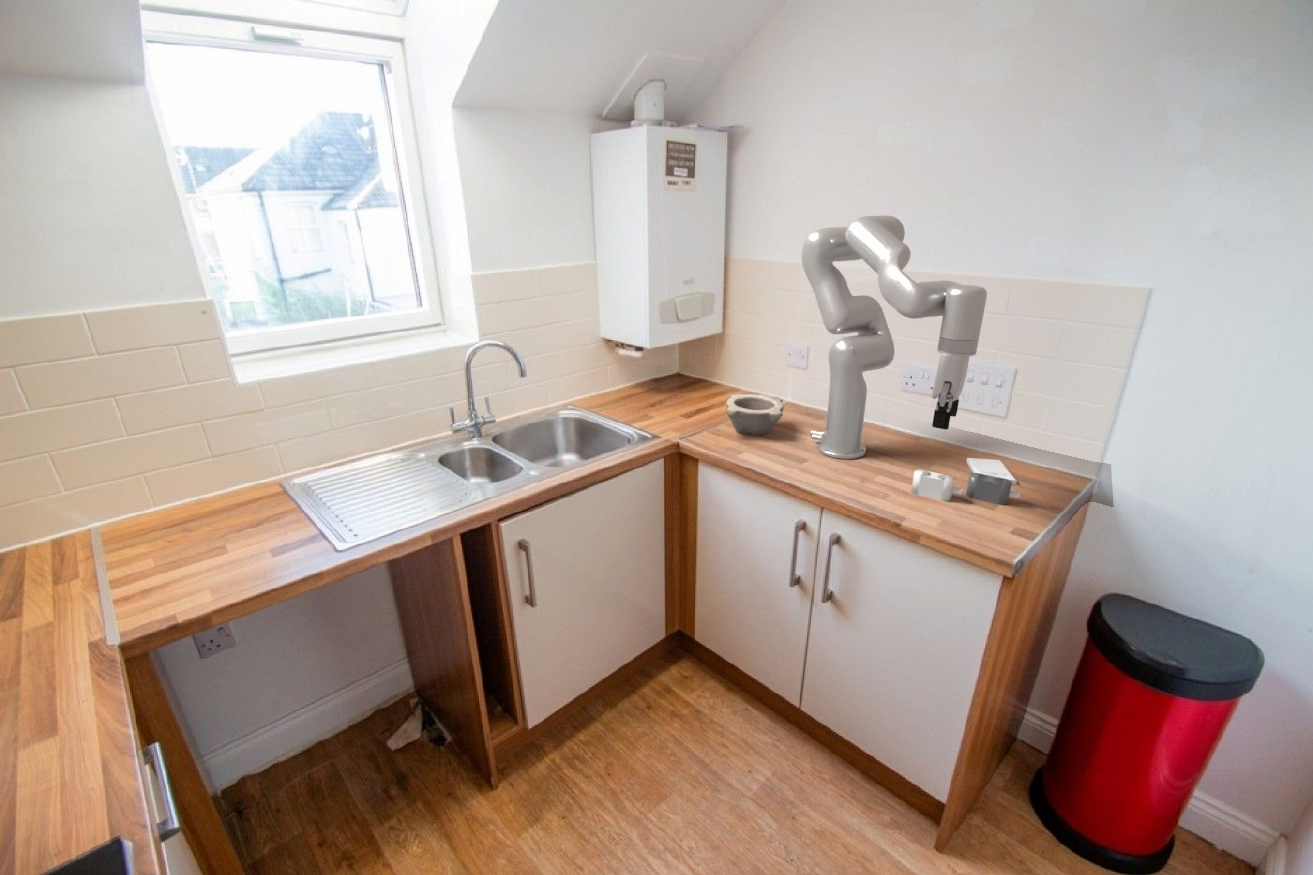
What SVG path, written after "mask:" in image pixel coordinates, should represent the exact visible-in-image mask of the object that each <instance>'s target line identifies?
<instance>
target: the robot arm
mask: <svg viewBox="0 0 1313 875" xmlns="http://www.w3.org/2000/svg"><path fill="white" fill-rule="evenodd" d="M905 234H906V233H905V227H904V224H903V223H902V222H901V220H900V219H898V218H897V217H896V216H893V215H866V216H865V215H864V216H859V217H857V218H856V219H855V218H854V220H853V221H851V222H850V223H849V224H848V226H844V227H843V226H838V227H837V226H836V227H834V226H833V227H824V228H819V229H816V230H814V231H812V232H810V233H809V234H808V235H807V236H806V237H805V239H804V242H803V244H802V248H801V264H802V268H803V271H804V273H805V276H806V277H807V280H808V281H809V284H810V287H811V288H812V291H813V293H814V297H815V299H816V303H817V306H818V310H819V314H820V316H821V320H822V322H823V325H824V327H825V328H826V331H827V332H828V333H830V334H831V335H846V334H854V333H857V334H858V335H857V334H856V335H849V336H844V337H842V338H839V339H837V340H836V341H835V342H834V343H832V345H831V346H830V349H829V350H828V351H829V352H828V364H829V376H830V377H829V394H828V403H827V414H826V423H825V424H826V425H825V430H823V431H820V430H816V429H811V430H810V437H811V439H812V440H815V441H816V440H817V441H819V442H818V447H817V449H818V451H819V452H820V453H821V454H824V455H826V456H827V457H831V458H835V459H842V460H843V459H844V460H854V459H859V458H861V457H864V456H865V455H866V453H867V452H866V451H867V448H866V446H865V445H864V444H862V436H863V428H864V419H865V411H866V404H867V396H868V395H867V394H868V387H867V383H866V380H865V378H864V375H863V373H865V372H868V371H875V370H880V369H883V368H886V367H889V365H890V364H891V363H893V360H894V357H895V344H894V340H893V336H892V334H891V331H890V328H889V325H888V322H887V320H886V316H885V314H884V310H883V308H882V306H881V304H880V303H879V302H878V300H876V299H875V298H874V297H872V296H869V295H852V293H851V291H850V289H849V286H848V283H847V282H848V281H847V280H846V278H845V277H844V275H843V273H842V272H841V270H839V269H838V268H837V267H836V266H835V265H834V264H833V263H834V262H849V261H859V260H862V261H863V262H864V263H866V265H867V266H869V267H870V269H872V270H873V271H874V272H875V273H876V274H877V275H878V276H877V283H878V287H879V288H878V289H879V291H880V294H881V296H882V297H883V299H884V300H885V301H886V302H887V303H888V304H889V305H890V306H891V307H892V308H893V309H894V310H895V311H897V313H899V314H900V315H901V316H904V317H906V318H908V319H912V320H913V319H923V318H930V317H932V318H933V317H941V316H942V319H941V326H940V332H939V337H938V343H937V349H936V350H937V352H938V353H940V357H939V361H938V364H937V370H936V374H935V379H934V384H933V387H932V388H933V390H932V394H931V397H932V399H934V400H935V399H936V398H937V402H936V406H935V409H934V414H933V419H932V423H931V424H932V425H931V426H932V428H935V429H940V430H948V429H949V427H950V422H951V417H956V416H957V414H958V409H959V402H960V399H959V398H960V396H961V394H962V391H963V389H964V385H965V381H966V378H967V371H968V368H969V367H968V366H969V362H970V357H973V356H976V355H977V351H978V350H977V349H978V346H979V341H980V335H981V329H982V324H983V321H984V320H983V318H984V313H985V308H986V304H987V299H988V298H987V296H988V291H987V290H986V289H985V287H982V286H979V285H969V284H960V283H957V282H954V281H950V280H935V281H934V280H933V281H922V282H921V281H920V282H917V281H915V280H913V279H912V278H911V277H910V276H909V275H907V273H906V272H904V271H903V270H904V269H905V268H906V266H907V265H908V264H909V261H910V259H911V249H910V247H909V246H908V245H907V244H906V243H904V242H903V241H904V239H905Z"/></svg>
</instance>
